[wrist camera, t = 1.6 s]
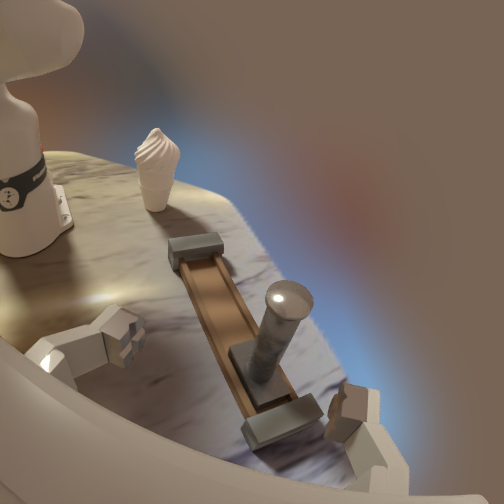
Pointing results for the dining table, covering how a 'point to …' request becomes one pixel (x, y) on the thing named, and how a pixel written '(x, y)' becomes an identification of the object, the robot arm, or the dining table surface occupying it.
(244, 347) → the carriage
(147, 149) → the soft serve ice cream cone
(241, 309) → the rail
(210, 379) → the dining table surface
